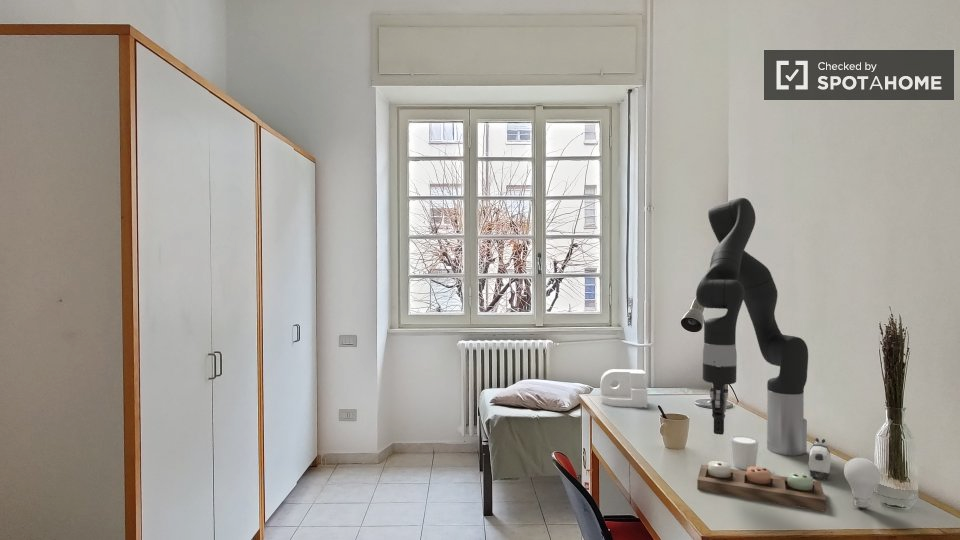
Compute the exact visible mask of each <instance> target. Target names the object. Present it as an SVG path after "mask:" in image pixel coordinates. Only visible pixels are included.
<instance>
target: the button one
mask: <svg viewBox="0 0 960 540" xmlns="http://www.w3.org/2000/svg"><path fill="white" fill-rule="evenodd" d="M707 465H708V473H709V474H710V475H712V476H715V477H722V478H726V477H730V476H731V469H732V464H730V463H728V462H726V461H719V460H711V461H709V462H708V463H707Z"/></svg>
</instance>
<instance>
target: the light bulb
mask: <svg viewBox="0 0 960 540" xmlns="http://www.w3.org/2000/svg"><path fill="white" fill-rule="evenodd" d="M843 474H844V477H845V479H846V481H847V482H848V484H849V485H850V488H851V491H852V493H851V494H852V496H853V497H854V498H853V505H854V506H856V507H857V508H859V509H862V510H865V509H868V508H870V506H871V505H870V502H871V498H872V494H873V491H874V490H875V489H876V487H877V486H878V485H879V484H880V482H881V471H880V469H879V467H878V466H877V465H876V464H875V463H874V462H872V460H870V459H867V458H865V457H853V458H851V459H848V461H847V462H846V463H845V465H844V468H843Z"/></svg>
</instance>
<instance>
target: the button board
mask: <svg viewBox="0 0 960 540" xmlns="http://www.w3.org/2000/svg"><path fill="white" fill-rule="evenodd" d="M699 469H700V470H699V473H698V476H697V479H696V481H697V485H696V486H697V487H696V489H697V490H701V491H706V492H712V493H717V494H722V495H727V496H735V497H739V498H745V499H749V500H755V501H760V500H761V502H766V503H773V504H780V505H784V506H785V505H786V506H792V507H797V508H801V509H803V508H804V509H809V510H815V511H820V512H821V511H822V512H826V510H827V509H826V505H827V504H826V501H827V500H826V497H825V492H824V489H823V486H822V482H821V481H815V480H813V489H811V490H799V489H795V488H792V487H790V486H789V485H788V476H781V475H776V474H775V475H774V474H771V482H770V483H767V484H760V483H755V482H752V481H749V480H748V479H747V470H743V469H741V470H740V469H733V468H731V476H730V477H726V478H722V477H715V476H712V475H710V474H709V473H708V464H707V465H706V464H700V468H699Z"/></svg>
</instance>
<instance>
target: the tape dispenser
mask: <svg viewBox="0 0 960 540" xmlns="http://www.w3.org/2000/svg"><path fill="white" fill-rule="evenodd" d="M646 375H647V373H646V372H645V371H644V369H628V368H627V369H623V368H622V369H620V368H619V369H618V368H617V369H616V368H613V369H608V370H607V371H605V372H603V374H602V375H601V378H600V382H599V383H600V385H599V386H600V387H599V389H600V390H599V394H600V396H599V400H600V402H601V404H603V405H607V406H612V407H623V408H624V407H625V408H628V407H629V408H642V407H645V409H647V408H648V389H647V386H646V385H647V384H646V383H647V381H646V379H647V376H646ZM613 382H618V385H617V386H616V387H613V386H612V383H613Z"/></svg>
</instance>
